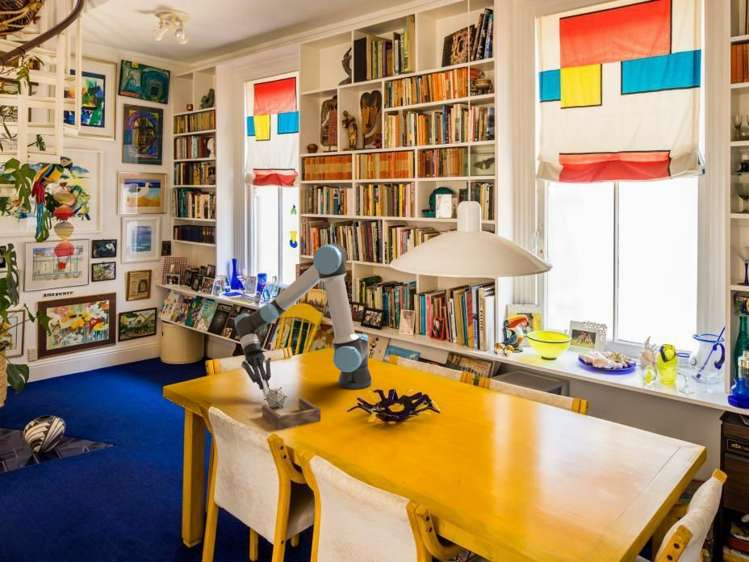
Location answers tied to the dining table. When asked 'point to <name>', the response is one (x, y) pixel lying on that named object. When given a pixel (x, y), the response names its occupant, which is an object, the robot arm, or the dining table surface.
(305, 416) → the shallow brown tray
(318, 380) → the dining table surface
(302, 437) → the dining table surface
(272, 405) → the grey spiked ball
